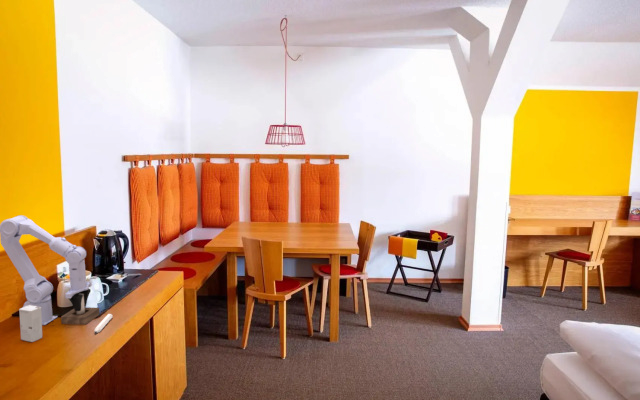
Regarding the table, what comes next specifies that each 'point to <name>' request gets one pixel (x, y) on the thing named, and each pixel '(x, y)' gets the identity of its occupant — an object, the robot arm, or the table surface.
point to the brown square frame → (80, 316)
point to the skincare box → (30, 323)
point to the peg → (81, 307)
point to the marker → (103, 323)
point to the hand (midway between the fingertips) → (80, 308)
